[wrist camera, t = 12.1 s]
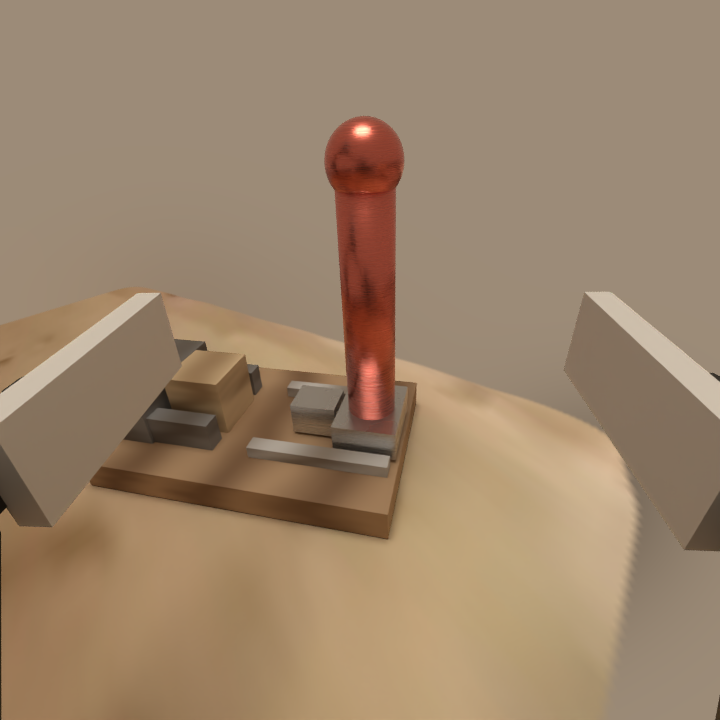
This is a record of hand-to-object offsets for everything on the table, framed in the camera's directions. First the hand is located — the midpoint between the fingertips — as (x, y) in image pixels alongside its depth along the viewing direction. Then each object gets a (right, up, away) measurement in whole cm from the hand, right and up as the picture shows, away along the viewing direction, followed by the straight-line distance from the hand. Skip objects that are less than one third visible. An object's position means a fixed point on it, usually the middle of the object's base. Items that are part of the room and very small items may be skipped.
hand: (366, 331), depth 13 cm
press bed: (-7, -7, +18) cm, 20 cm away
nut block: (-11, -5, +17) cm, 21 cm away
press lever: (-1, -5, +15) cm, 16 cm away
